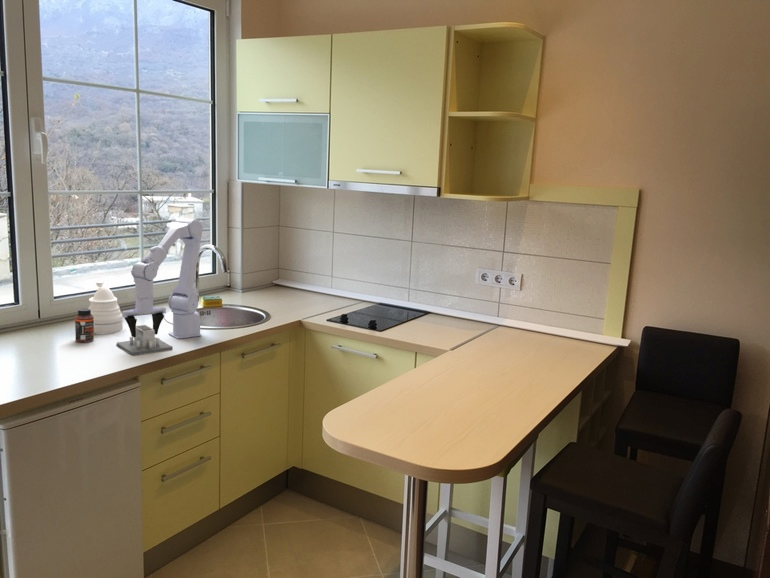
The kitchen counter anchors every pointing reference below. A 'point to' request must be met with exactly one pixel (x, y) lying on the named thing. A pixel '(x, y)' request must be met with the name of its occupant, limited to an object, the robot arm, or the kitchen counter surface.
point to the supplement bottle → (84, 326)
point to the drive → (144, 336)
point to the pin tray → (136, 349)
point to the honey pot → (105, 311)
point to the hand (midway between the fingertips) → (144, 335)
